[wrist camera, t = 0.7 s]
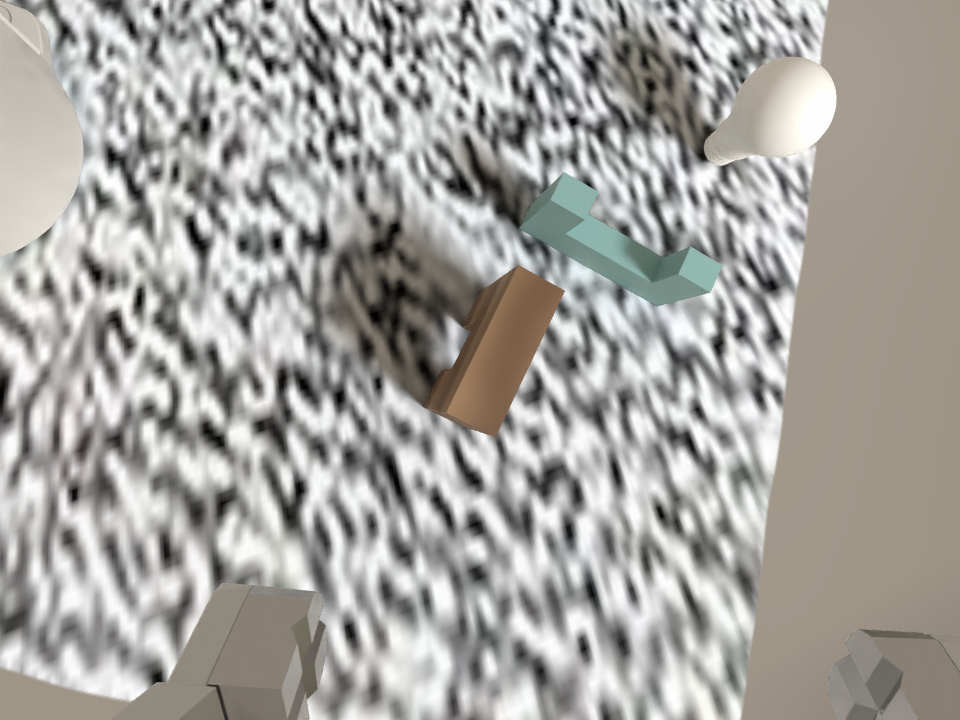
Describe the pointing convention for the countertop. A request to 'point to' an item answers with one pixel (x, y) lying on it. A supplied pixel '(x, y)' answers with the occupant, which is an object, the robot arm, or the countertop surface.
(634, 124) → the countertop surface
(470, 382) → the brown arch block
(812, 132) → the lightbulb
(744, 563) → the countertop surface
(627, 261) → the teal bracket
